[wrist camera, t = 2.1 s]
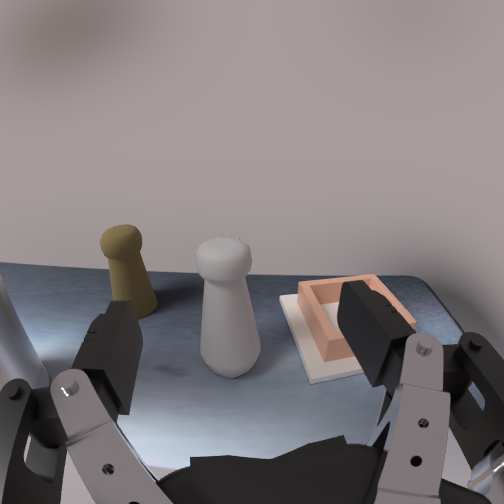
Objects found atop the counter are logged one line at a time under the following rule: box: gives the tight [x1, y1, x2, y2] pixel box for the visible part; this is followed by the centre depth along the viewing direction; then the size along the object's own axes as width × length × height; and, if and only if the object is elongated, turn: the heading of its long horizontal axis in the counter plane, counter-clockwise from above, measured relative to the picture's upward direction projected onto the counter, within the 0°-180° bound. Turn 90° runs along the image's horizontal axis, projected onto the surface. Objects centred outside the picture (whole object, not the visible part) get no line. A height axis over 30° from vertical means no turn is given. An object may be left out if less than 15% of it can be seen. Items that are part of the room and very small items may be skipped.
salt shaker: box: [196, 237, 261, 379], centre depth 24 cm, size 6×6×13 cm
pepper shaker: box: [100, 225, 157, 319], centre depth 33 cm, size 6×6×11 cm
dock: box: [280, 274, 417, 384], centre depth 31 cm, size 14×14×4 cm
